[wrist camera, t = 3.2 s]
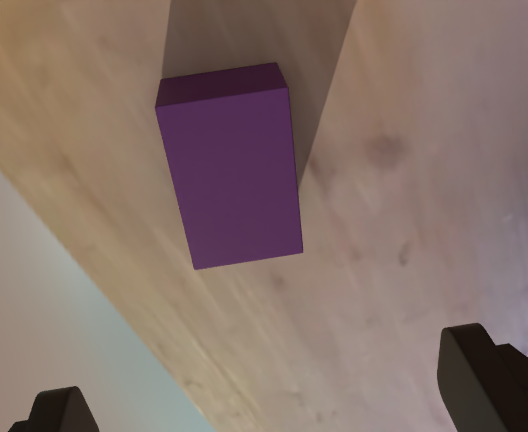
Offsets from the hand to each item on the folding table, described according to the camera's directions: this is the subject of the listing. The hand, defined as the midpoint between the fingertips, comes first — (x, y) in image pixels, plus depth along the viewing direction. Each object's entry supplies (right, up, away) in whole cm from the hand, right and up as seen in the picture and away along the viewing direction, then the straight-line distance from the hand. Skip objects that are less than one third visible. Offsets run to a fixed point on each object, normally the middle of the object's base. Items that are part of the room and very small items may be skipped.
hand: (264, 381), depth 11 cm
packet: (-1, +6, +10) cm, 12 cm away
